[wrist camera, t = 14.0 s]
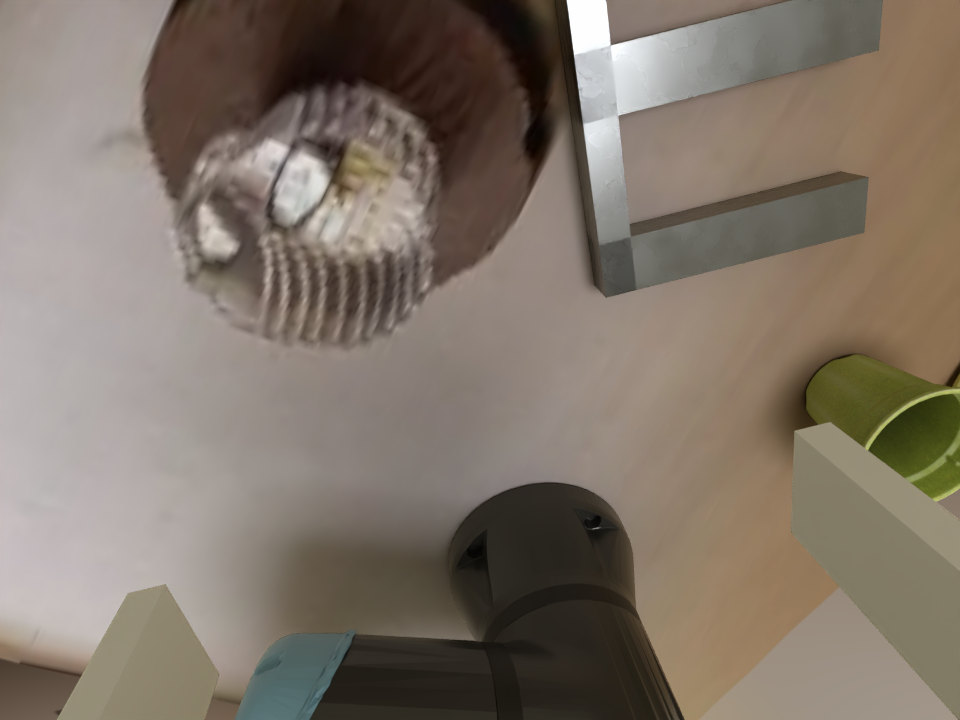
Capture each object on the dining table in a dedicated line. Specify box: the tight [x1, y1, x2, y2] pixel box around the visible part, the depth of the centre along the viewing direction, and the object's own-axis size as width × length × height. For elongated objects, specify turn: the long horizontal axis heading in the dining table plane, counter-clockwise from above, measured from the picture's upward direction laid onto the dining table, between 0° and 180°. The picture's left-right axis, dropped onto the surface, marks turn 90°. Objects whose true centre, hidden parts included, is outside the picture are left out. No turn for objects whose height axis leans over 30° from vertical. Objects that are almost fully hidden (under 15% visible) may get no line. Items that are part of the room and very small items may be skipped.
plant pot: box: [806, 354, 960, 502], centre depth 41 cm, size 9×9×9 cm
